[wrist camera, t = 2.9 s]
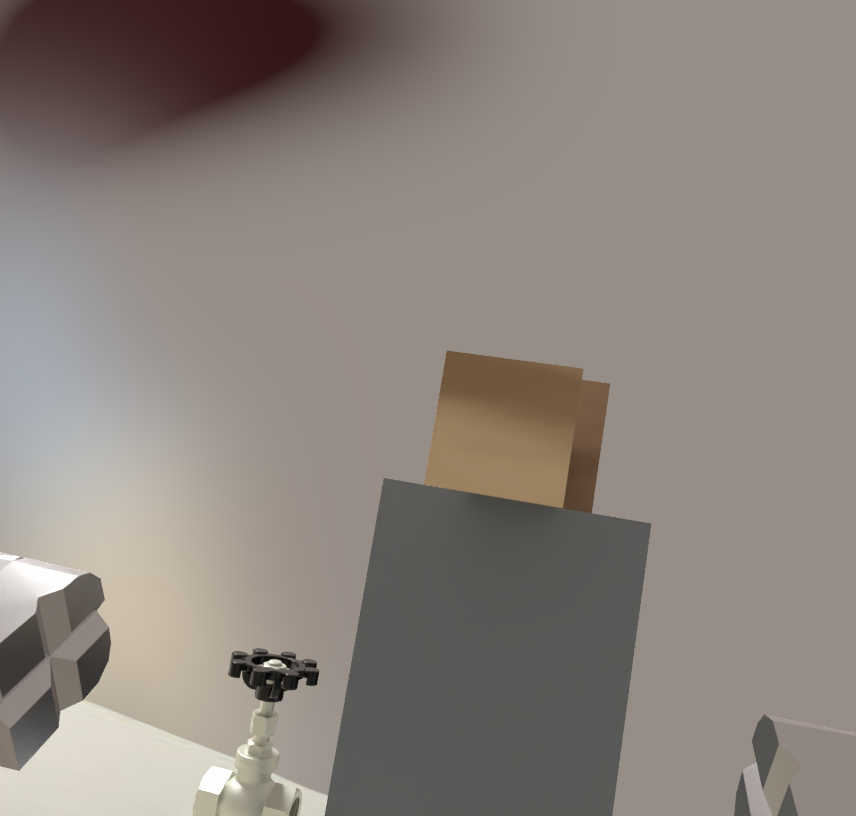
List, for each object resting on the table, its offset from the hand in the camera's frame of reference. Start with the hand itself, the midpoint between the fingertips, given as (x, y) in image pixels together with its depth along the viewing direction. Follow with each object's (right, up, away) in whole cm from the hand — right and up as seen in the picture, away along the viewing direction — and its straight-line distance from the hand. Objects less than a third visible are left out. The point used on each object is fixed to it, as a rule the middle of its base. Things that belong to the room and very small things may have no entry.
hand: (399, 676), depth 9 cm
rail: (+4, -1, +23) cm, 23 cm away
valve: (-13, -27, +41) cm, 51 cm away
